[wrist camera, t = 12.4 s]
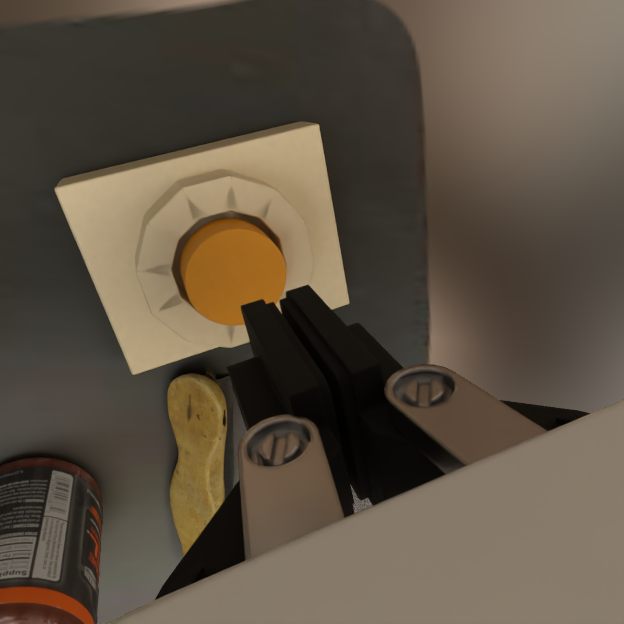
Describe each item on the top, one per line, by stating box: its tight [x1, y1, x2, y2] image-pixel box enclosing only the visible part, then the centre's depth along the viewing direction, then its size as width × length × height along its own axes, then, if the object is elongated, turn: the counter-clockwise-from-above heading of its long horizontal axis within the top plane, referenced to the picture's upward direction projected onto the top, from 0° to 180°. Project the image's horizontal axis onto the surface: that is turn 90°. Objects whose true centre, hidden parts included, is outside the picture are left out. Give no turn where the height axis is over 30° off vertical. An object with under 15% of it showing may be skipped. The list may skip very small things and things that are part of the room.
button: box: [180, 218, 286, 326], centre depth 18 cm, size 4×4×2 cm
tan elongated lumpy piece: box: [168, 367, 234, 556], centre depth 26 cm, size 3×14×3 cm
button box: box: [55, 121, 349, 375], centre depth 20 cm, size 8×10×4 cm
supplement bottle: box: [0, 457, 103, 624], centre depth 19 cm, size 6×6×11 cm
